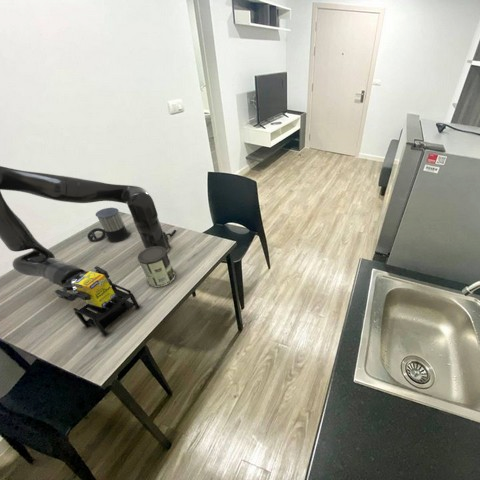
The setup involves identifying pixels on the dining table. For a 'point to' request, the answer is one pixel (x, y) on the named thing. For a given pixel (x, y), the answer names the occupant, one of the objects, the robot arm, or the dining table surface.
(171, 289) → the dining table surface
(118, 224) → the milk frother
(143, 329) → the dining table surface
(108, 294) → the supplement box
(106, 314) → the rack
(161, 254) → the coffee can
